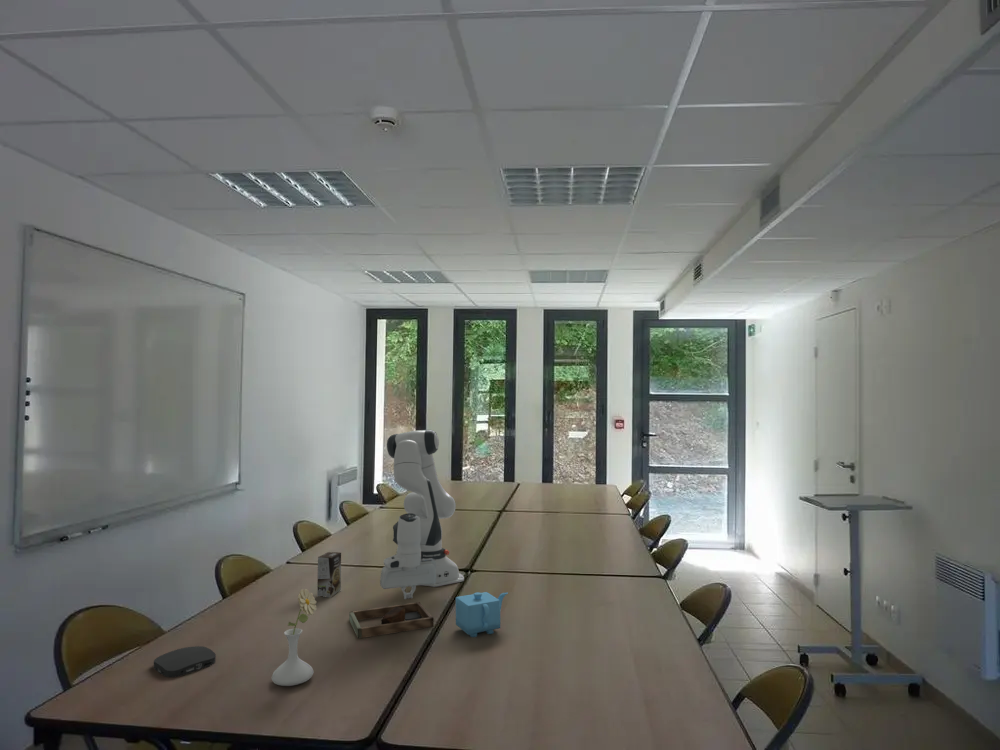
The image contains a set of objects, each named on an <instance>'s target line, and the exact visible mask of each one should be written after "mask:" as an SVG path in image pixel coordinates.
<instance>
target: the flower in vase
mask: <svg viewBox="0 0 1000 750" xmlns="http://www.w3.org/2000/svg"><path fill="white" fill-rule="evenodd" d="M313 595H314V594H313V592H310V591H309V589H306V588H304V589H303V588H301V590H299V594H298V595H297V596H298V597H297V601H298V605H299V611H298V615H297V618H296V622H295V623H294V622H291V621H288V623H287V626H288V627H289V626H290V627H294V628H290V629H286V630H285V631H284V632H283V634H284V636H285V637H286V640H287V642H288V656H287V659H285V661H284V662H283V663H281V664H279V666H278V667H277V668H276V669H275V670H274V671H273V673H272V675H271V677H270V679H271V681H272V682H273V684H275V685H278V686H282V687H290V686H297V685H300V684H303V683H305V682H308V681H309V680H310V679H311V678H312V677H313V675H314V669H313V666H311V665H310V664H309V663H307V662H306V661H305V660H302V659H301V658H300V657H299V656H298V643H299V638H300V635H302V633H303V629H301V628H297V625H298V621H299V622H300V623H303V624H304V623H306V622H307V621H308V620H309V616H314V615H315V613H314V611H315V612H316V611H317V605H316V604H317V600H316V599H315V597H314V596H313ZM301 611H302V612H303V613H301Z"/></svg>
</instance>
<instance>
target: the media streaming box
mask: <svg viewBox="0 0 1000 750" xmlns="http://www.w3.org/2000/svg"><path fill="white" fill-rule="evenodd" d="M212 664H213V665H214V664H216V652H214V651H213V649H210V647H207V646H204V645H203V646H199V645H198V646H197V645H196V646H187V647H182V648H177V649H175V650H170V651H168V652H166V653H164V654H161V655H159V656H158V657H156V658H154V660H153V669H154V670H155V671H156V672H158V674H160V675H162V676H163V677H165V678H178V677H182V676H185V675H188V674H191V673H194V672H197V671H200V670H202V668H203V669H205V667H206V668H208V667H211V666H213V665H212ZM210 665H211V666H210Z"/></svg>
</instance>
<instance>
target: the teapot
mask: <svg viewBox="0 0 1000 750" xmlns="http://www.w3.org/2000/svg"><path fill="white" fill-rule="evenodd" d="M508 593H509V592H502V593H500V594H499V596H498V597H495V596H494V595H492V594H491V593H489V592H487V591H484V592H474V593H472V594H467V595H466V594H465V595H459V596H456V597H455V625H456V626H457V627H459V629H461V630H462V631H463V632H464V633H466V635H468V636H469V637H470V638H477V637H478V633H485V632H486V633H485V634H487V635H492V634H494V633H495V632H494V630H498V629H501V609H502V605H503V600H504V598H505V596H507V595H508Z"/></svg>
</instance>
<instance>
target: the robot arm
mask: <svg viewBox="0 0 1000 750" xmlns="http://www.w3.org/2000/svg"><path fill="white" fill-rule="evenodd" d="M439 445H440V439H439V436H438V433H437V432H436V431H434V429H421V430H420V429H419V430H416V429H415V430H410V431H405V432H402V433H395V434H392V435H389V437H388V438H387V441H386V450H387V453H388V455H389V456H390V458H392V459H393V477H394V478H393V479H394V481H395V482H396V484H397V485H398V486H399V487H401V488H402V489H404V490H406V491H409V493H408V494H406V496H405V497H404V499H403V509H404V510H405V512H406V513H403V514H401V515H400V516H399V517H398V520H397V522H395V523H394V525H393V526H392V529H393V530H392V531H393V539H392V542H394V543H395V544H396V545H397V549H396V554H393V555H391V556H388V557H386V558H384V560H383V564H384V566H383V567H382V569H381V571H380V580H379V585H380V587H381V588H382V589H383V590H388V589H397V588H400V590H401V592H402V593H403V599H404V600H409V599H410V600H411V599H413V597H414V596H413V595H414V593H415V592H416V589H417V586H426V587H427V586H428V587H432V588H436V587H441V586H445V585H451V584H456V583H460V582H464V581H465V577H464V574H462V573H461V572H460V571H459V567H458V565H457V564H456V562H454V560H452V559H450V558H449V557H448V555H449V554H450V551H449V550H448V549H445V548H444V547H443V546H442V545H443V541H442V539H443V528H442V524H441V521H440V519H442V520H443V519H449V518H451V517H452V516H453V515H454V513H455V511H456V507H457V506H456V505H457V504H456V501H455V499H454V497H453V496H451V494H449V493H448V492H447V491H446V489H444V487H443V485H442V484H441V482H440V479H439V477H438V474H437V469H436V465H435V459H434V456H433V454H435V453H436V452H437V451H438V450H439ZM407 587H410V588H411V589H410V592H406V591H405V590H406V589H407Z"/></svg>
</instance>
